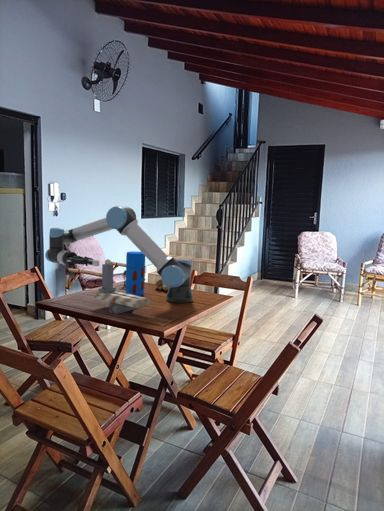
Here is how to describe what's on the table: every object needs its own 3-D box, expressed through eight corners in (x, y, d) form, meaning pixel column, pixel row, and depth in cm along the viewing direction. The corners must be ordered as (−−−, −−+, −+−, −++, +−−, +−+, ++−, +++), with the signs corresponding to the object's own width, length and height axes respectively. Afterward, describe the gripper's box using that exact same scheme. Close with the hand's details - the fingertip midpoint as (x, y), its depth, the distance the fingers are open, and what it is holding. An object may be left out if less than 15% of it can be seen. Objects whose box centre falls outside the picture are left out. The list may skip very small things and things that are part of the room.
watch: (121, 285, 240) (121, 269, 239) (132, 284, 245) (132, 268, 244) (124, 287, 236) (125, 270, 235) (136, 286, 240) (136, 269, 239)
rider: (98, 294, 184) (99, 259, 182) (110, 292, 190) (110, 258, 188) (104, 296, 182) (104, 260, 179) (115, 293, 188) (116, 259, 186)
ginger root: (162, 283, 247) (164, 272, 245) (180, 292, 239) (183, 281, 237) (146, 287, 235) (148, 275, 232) (165, 297, 227) (168, 285, 224)
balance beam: (92, 308, 184) (92, 292, 183) (110, 303, 194) (110, 288, 193) (134, 319, 169) (135, 301, 168) (151, 313, 179) (151, 297, 178)
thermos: (147, 294, 219) (149, 252, 216) (135, 297, 210) (137, 254, 207) (133, 291, 225) (135, 250, 222) (121, 294, 216) (122, 252, 213)
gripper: (77, 263, 206) (107, 269, 194) (57, 266, 195) (87, 272, 183) (77, 250, 205) (107, 255, 193) (57, 252, 195) (88, 257, 182)
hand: (98, 263), depth 188 cm, fingers closed
